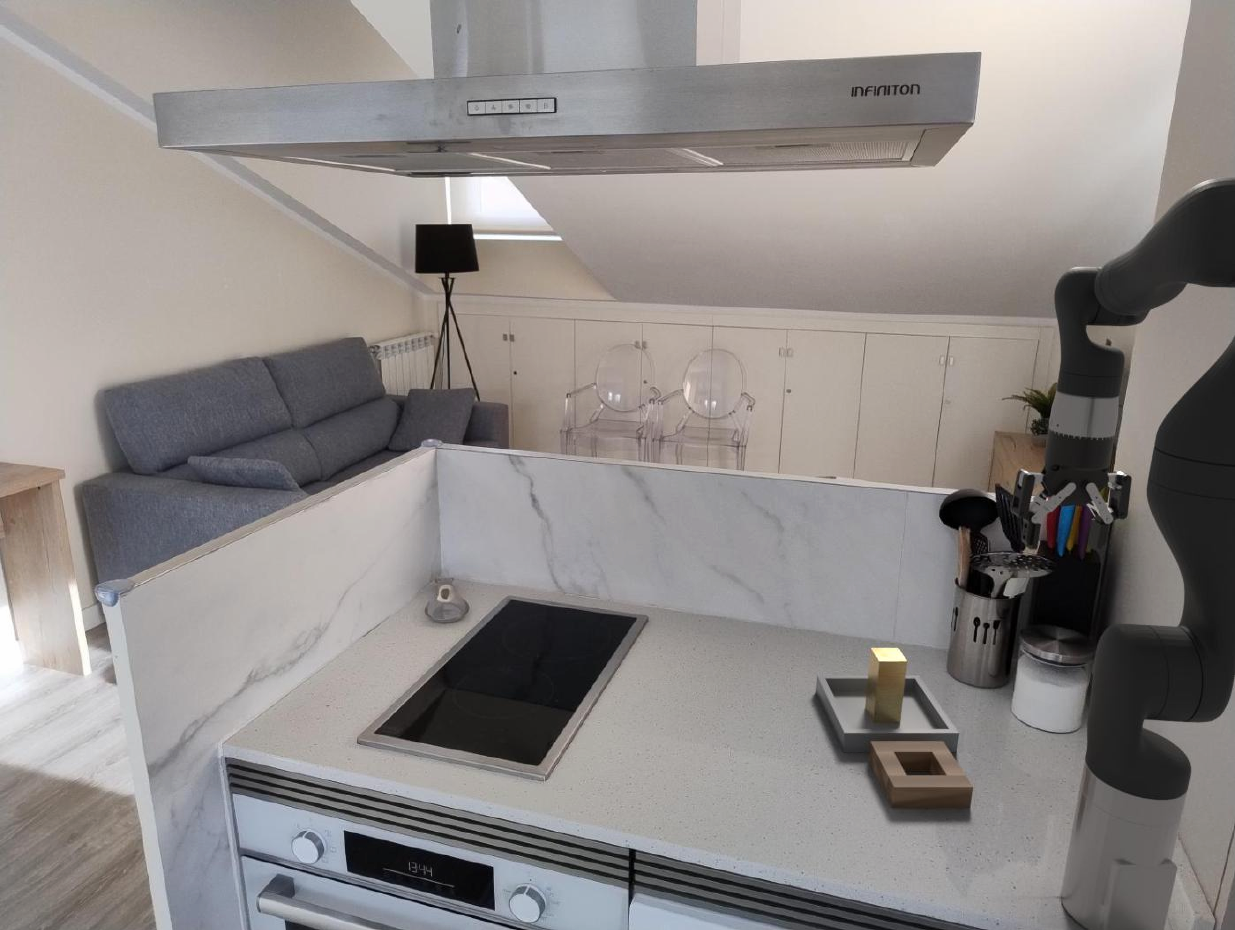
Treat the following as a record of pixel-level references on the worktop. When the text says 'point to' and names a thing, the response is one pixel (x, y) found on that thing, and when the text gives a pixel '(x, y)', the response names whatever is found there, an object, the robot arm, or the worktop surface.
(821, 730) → the worktop surface
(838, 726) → the parts tray
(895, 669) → the pin
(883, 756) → the socket block
